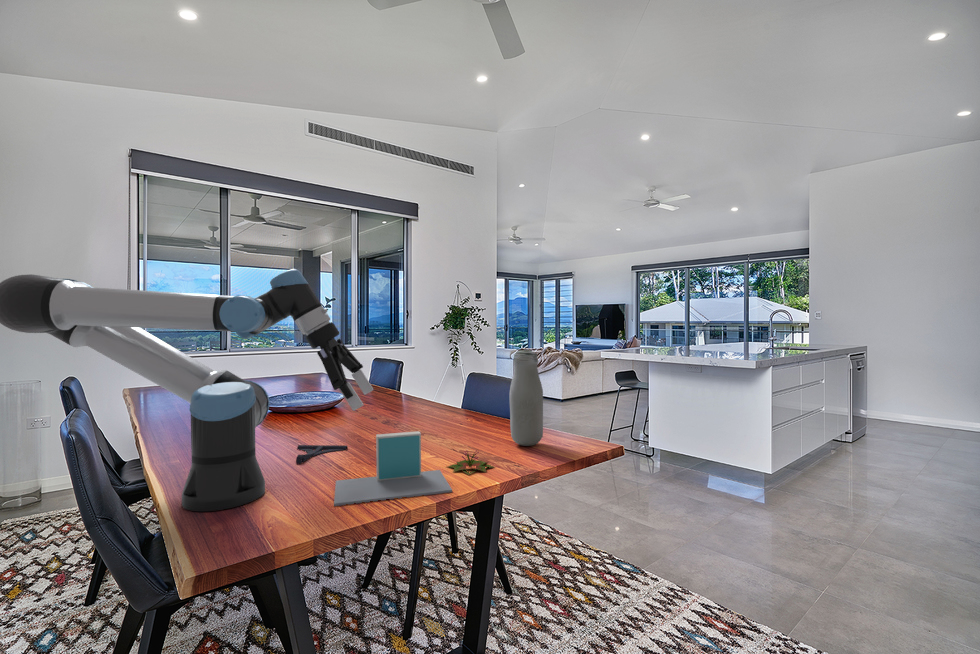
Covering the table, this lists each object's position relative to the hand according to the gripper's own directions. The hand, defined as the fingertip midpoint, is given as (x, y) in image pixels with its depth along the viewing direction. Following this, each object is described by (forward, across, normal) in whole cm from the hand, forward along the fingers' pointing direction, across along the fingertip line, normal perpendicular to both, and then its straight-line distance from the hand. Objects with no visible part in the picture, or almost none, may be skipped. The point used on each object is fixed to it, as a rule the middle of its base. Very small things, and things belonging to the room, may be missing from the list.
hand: (364, 399), depth 117 cm
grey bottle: (+38, +13, -29) cm, 50 cm away
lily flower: (+28, -6, -15) cm, 32 cm away
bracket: (+8, +8, +24) cm, 26 cm away
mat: (+17, -18, -1) cm, 25 cm away
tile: (+18, -13, -1) cm, 22 cm away
